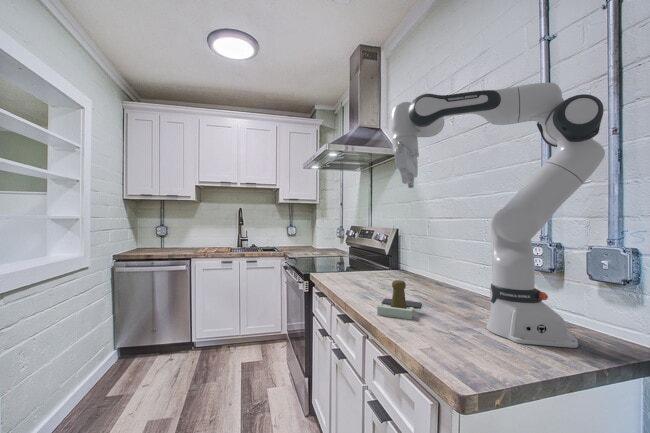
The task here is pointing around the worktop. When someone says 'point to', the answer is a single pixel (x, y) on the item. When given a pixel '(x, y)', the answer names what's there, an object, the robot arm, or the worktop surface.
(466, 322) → the worktop surface
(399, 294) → the cork
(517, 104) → the robot arm
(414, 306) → the trap squares
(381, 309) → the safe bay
